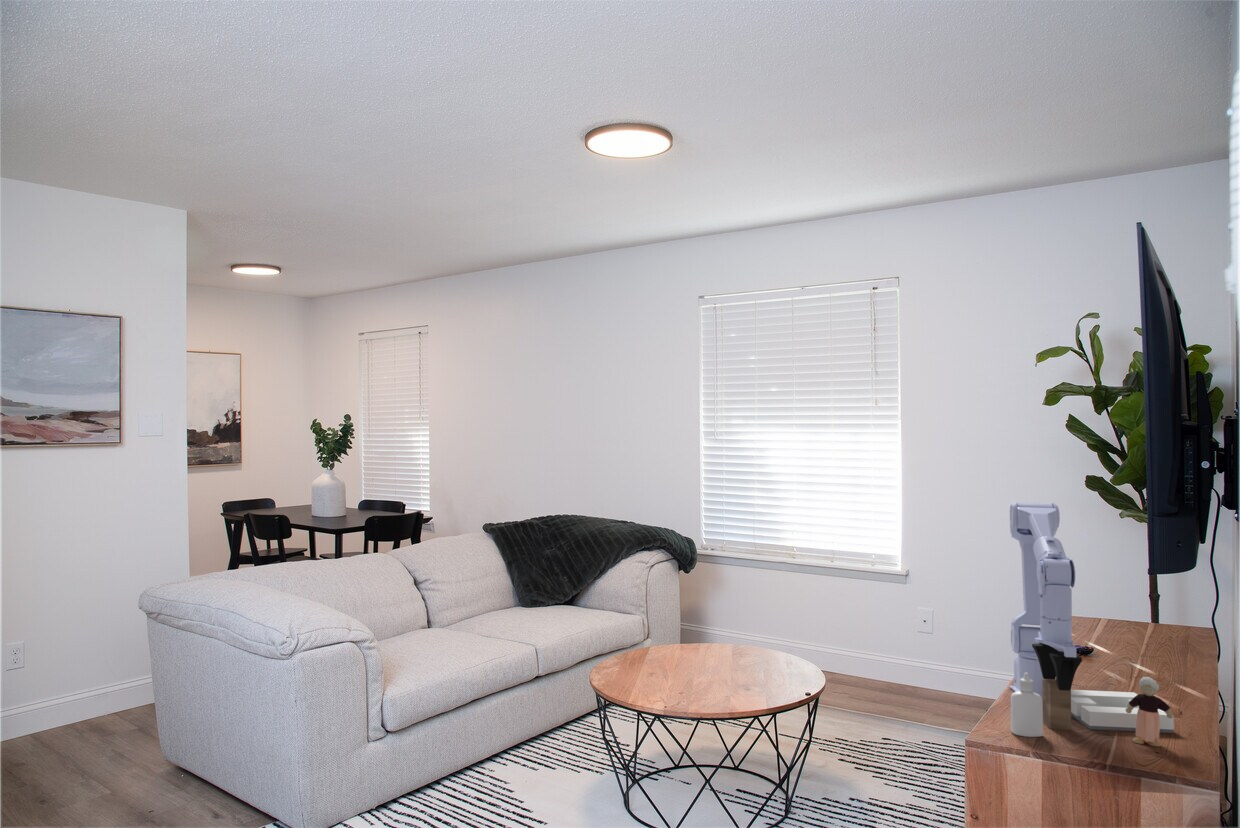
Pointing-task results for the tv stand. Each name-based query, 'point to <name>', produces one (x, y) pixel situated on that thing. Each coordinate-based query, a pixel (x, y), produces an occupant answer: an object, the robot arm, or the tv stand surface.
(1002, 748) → the tv stand surface
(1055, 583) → the robot arm
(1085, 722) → the socket block
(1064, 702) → the walnut pin
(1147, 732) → the grandmother figurine
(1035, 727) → the eye dropper bottle
